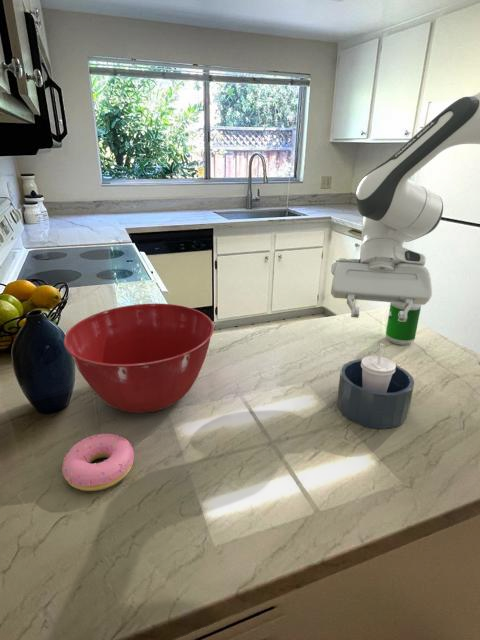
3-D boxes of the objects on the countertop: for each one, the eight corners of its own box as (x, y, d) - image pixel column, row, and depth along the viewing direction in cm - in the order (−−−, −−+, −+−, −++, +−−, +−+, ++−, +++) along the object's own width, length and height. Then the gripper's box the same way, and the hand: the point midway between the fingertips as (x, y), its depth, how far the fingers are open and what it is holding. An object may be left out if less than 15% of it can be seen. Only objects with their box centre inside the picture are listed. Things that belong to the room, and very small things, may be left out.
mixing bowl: (138, 461, 67) (129, 381, 61) (47, 401, 83) (33, 332, 77) (241, 388, 87) (241, 323, 81) (153, 351, 103) (148, 294, 97)
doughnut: (138, 444, 71) (136, 424, 69) (132, 493, 60) (129, 471, 59) (73, 450, 69) (69, 430, 67) (55, 500, 59) (50, 479, 57)
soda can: (420, 342, 110) (428, 301, 105) (401, 348, 106) (409, 306, 101) (397, 332, 116) (404, 293, 111) (379, 337, 112) (385, 297, 107)
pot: (402, 393, 86) (407, 363, 83) (412, 433, 74) (420, 399, 71) (337, 386, 89) (340, 355, 86) (337, 423, 76) (341, 389, 74)
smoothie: (354, 411, 79) (363, 347, 74) (356, 394, 85) (364, 333, 79) (389, 417, 77) (400, 352, 72) (388, 399, 83) (398, 338, 78)
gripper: (333, 250, 87) (328, 307, 82) (433, 255, 83) (435, 316, 78) (331, 265, 93) (326, 319, 88) (425, 271, 89) (426, 328, 84)
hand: (378, 318), depth 83 cm, fingers open, 8 cm apart
